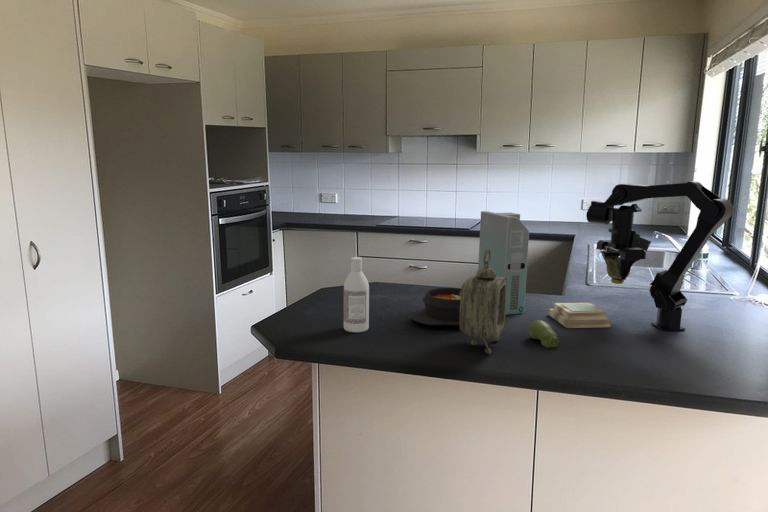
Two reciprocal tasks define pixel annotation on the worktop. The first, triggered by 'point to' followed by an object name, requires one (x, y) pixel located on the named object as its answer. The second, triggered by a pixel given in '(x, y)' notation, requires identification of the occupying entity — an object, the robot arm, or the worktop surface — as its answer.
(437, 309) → the casserole
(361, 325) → the bath foam
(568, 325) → the oak plinth
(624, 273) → the robot arm
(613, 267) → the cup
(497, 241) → the light blue cardboard box
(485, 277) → the tabletop clock
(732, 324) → the worktop surface
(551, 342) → the pear
